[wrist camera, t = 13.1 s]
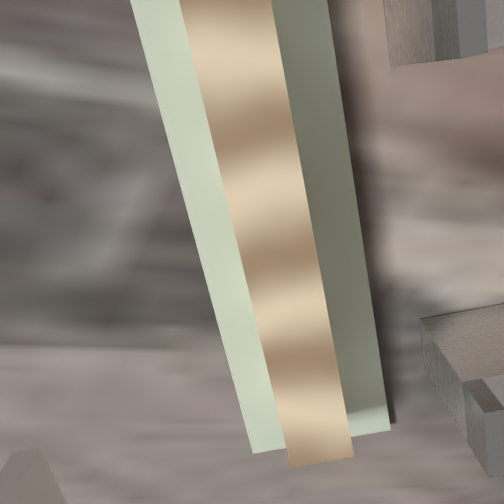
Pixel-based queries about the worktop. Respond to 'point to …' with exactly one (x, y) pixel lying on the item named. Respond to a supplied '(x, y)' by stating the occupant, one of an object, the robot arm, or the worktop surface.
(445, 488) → the worktop surface
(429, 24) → the post
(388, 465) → the worktop surface
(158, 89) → the mat
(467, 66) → the worktop surface
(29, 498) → the robot arm
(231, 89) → the rail
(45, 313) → the worktop surface
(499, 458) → the post
